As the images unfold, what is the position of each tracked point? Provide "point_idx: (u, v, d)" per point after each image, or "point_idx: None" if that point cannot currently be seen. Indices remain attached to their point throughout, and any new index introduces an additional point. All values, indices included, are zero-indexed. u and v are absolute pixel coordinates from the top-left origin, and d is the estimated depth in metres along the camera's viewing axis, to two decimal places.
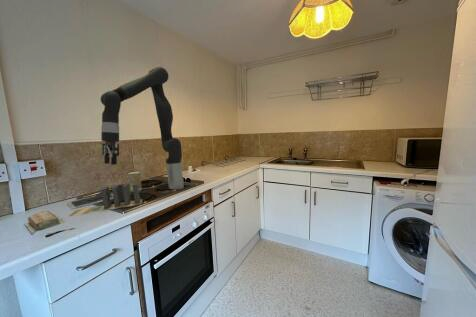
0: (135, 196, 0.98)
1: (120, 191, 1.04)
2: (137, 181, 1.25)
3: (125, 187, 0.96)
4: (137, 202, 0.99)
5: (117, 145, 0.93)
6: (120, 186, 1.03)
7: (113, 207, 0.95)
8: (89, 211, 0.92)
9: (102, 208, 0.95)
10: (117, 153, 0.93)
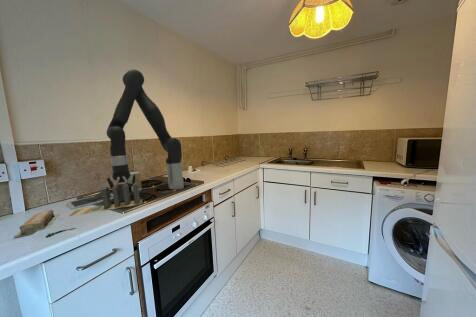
0: (135, 196, 0.98)
1: (120, 191, 1.04)
2: (137, 181, 1.25)
3: (125, 187, 0.96)
4: (137, 202, 0.99)
5: (135, 176, 1.07)
6: (120, 186, 1.03)
7: (113, 207, 0.95)
8: (89, 211, 0.92)
9: (102, 208, 0.95)
10: (133, 182, 1.07)
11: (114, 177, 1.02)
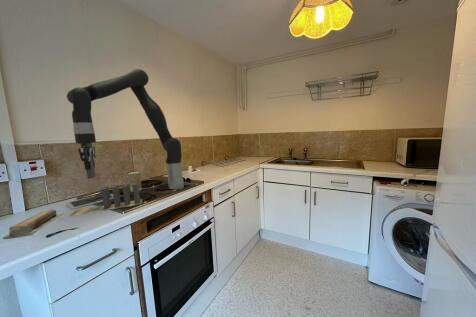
0: (135, 196, 0.98)
1: None
2: (137, 181, 1.25)
3: (125, 187, 0.96)
4: (137, 202, 0.99)
5: None
6: (90, 158, 0.90)
7: (113, 207, 0.95)
8: (89, 211, 0.92)
9: (102, 208, 0.95)
10: None
11: (87, 147, 0.88)
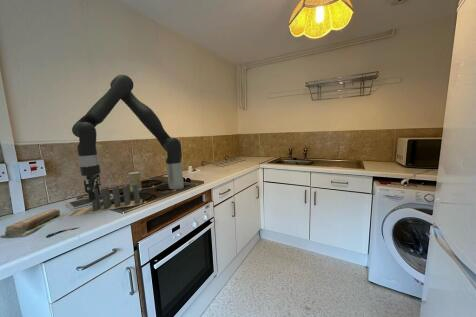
0: (135, 196, 0.98)
1: (96, 196, 0.92)
2: (137, 181, 1.25)
3: (125, 187, 0.96)
4: (137, 202, 0.99)
5: None
6: (95, 191, 0.92)
7: (113, 207, 0.95)
8: (89, 211, 0.92)
9: (102, 208, 0.95)
10: None
11: (92, 179, 0.90)
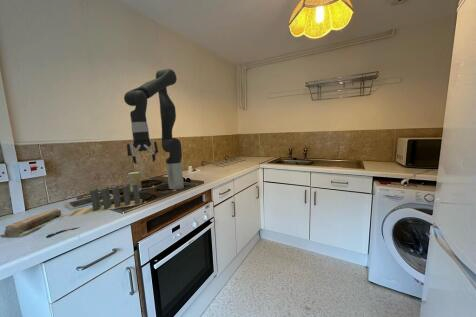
0: (135, 196, 0.98)
1: (96, 196, 0.92)
2: (137, 181, 1.25)
3: (125, 187, 0.96)
4: (137, 202, 0.99)
5: (156, 143, 1.02)
6: (95, 191, 0.92)
7: (113, 207, 0.95)
8: (89, 211, 0.92)
9: (102, 208, 0.95)
10: None
11: (135, 145, 0.97)
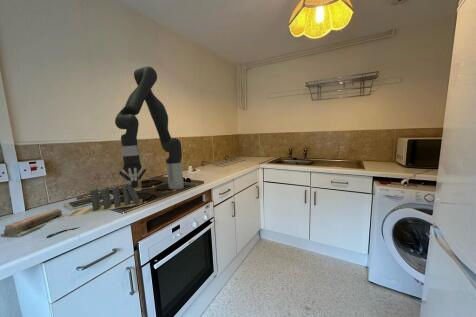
0: (132, 196, 0.97)
1: (96, 196, 0.92)
2: None
3: (124, 187, 0.96)
4: (136, 202, 0.98)
5: (145, 170, 1.01)
6: (95, 191, 0.92)
7: (113, 207, 0.95)
8: (89, 211, 0.92)
9: (102, 208, 0.95)
10: (140, 176, 1.00)
11: (125, 168, 0.96)
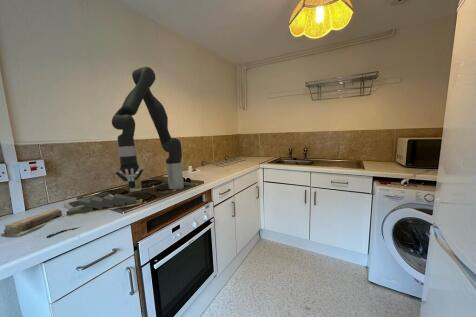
0: (126, 201, 0.97)
1: (76, 209, 0.90)
2: (137, 181, 1.25)
3: (103, 199, 0.93)
4: (133, 201, 0.98)
5: (142, 171, 1.01)
6: (69, 210, 0.89)
7: (113, 207, 0.95)
8: None
9: None
10: None
11: (122, 169, 0.96)
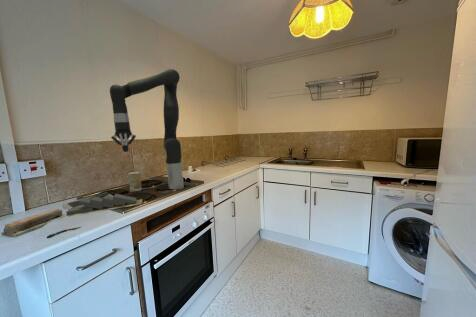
0: (126, 201, 0.97)
1: (76, 209, 0.90)
2: (137, 181, 1.25)
3: (103, 199, 0.93)
4: (133, 201, 0.98)
5: None
6: (69, 210, 0.89)
7: (113, 207, 0.95)
8: None
9: None
10: None
11: (117, 134, 1.09)
